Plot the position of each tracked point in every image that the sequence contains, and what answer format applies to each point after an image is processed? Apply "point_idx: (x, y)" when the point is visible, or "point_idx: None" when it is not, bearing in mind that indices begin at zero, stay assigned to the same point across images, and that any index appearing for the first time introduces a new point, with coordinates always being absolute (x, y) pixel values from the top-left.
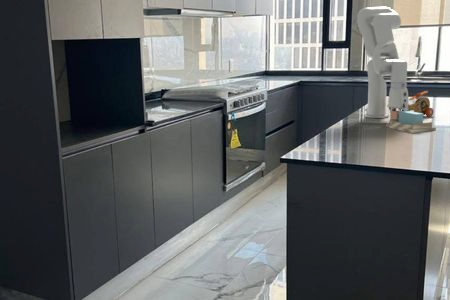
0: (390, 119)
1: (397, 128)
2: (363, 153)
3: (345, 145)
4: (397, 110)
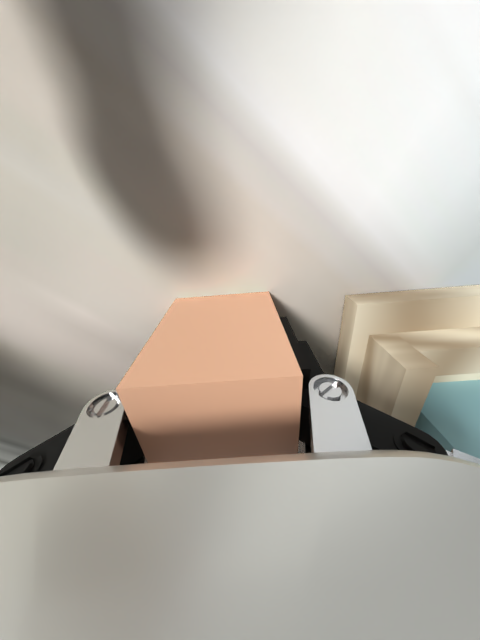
0: None
1: None
2: None
3: None
4: (135, 411)
